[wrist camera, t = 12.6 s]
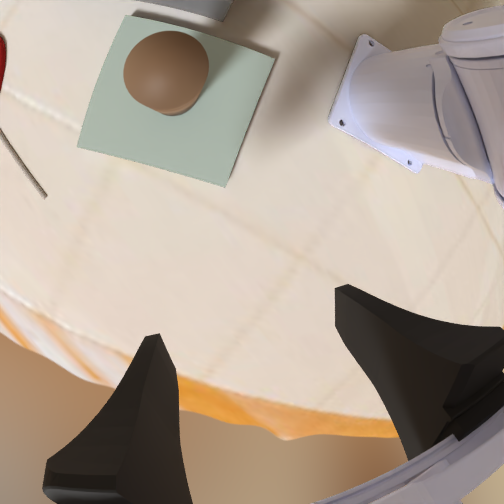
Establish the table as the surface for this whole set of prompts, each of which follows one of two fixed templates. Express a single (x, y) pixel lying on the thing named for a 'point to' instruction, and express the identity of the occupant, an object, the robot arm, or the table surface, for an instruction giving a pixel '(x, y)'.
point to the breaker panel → (198, 6)
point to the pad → (182, 126)
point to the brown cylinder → (166, 72)
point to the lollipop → (0, 67)
